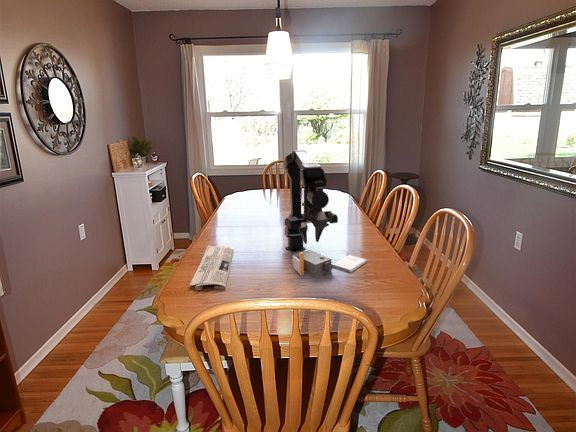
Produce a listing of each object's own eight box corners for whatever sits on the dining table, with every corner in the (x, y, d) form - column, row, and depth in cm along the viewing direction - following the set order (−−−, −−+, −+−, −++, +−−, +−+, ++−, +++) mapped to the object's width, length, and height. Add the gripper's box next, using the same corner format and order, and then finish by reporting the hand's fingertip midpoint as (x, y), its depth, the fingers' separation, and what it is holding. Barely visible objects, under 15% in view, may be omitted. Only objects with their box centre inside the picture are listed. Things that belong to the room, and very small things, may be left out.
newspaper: (225, 290, 128) (225, 281, 127) (188, 291, 128) (188, 282, 127) (234, 251, 162) (233, 243, 161) (204, 252, 162) (204, 244, 161)
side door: (291, 266, 144) (291, 246, 142) (294, 266, 145) (294, 245, 142) (300, 275, 137) (300, 253, 135) (303, 274, 138) (303, 253, 135)
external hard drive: (331, 268, 145) (348, 258, 154) (350, 273, 140) (366, 263, 149) (332, 264, 144) (348, 254, 153) (350, 269, 139) (366, 259, 148)
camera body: (294, 266, 145) (294, 253, 144) (309, 261, 150) (310, 248, 148) (318, 278, 135) (318, 264, 133) (334, 272, 140) (334, 258, 138)
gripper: (297, 210, 121) (297, 254, 126) (346, 203, 128) (345, 246, 133) (283, 202, 131) (284, 243, 135) (330, 196, 138) (329, 236, 142)
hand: (311, 242), depth 136 cm, fingers open, 4 cm apart
